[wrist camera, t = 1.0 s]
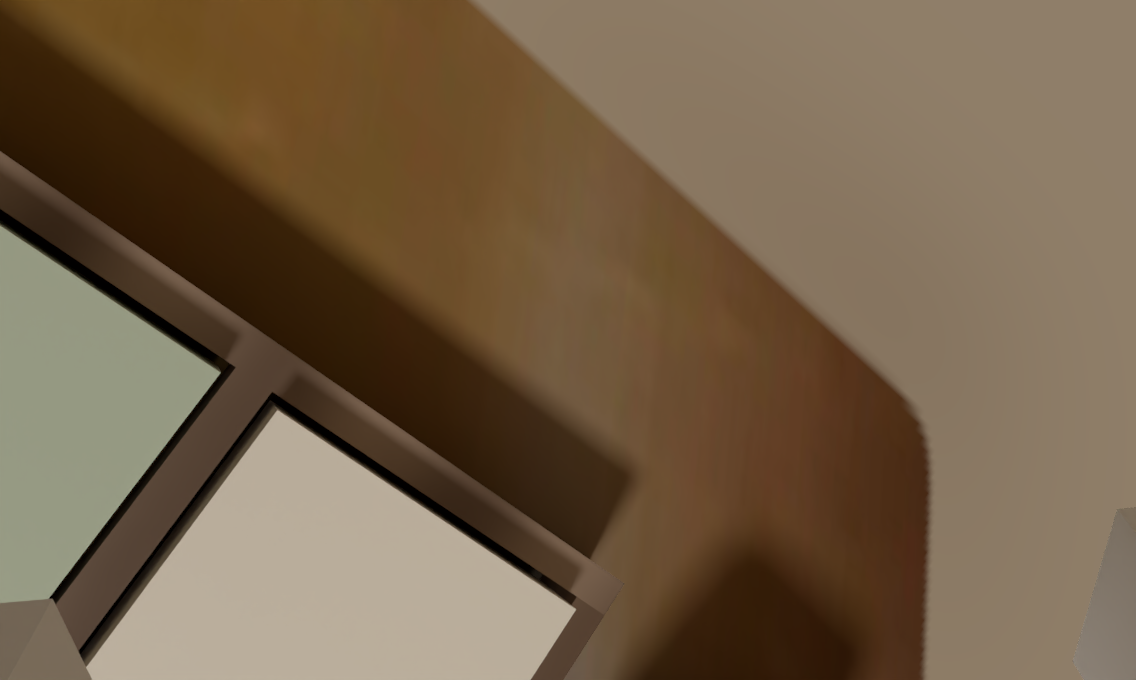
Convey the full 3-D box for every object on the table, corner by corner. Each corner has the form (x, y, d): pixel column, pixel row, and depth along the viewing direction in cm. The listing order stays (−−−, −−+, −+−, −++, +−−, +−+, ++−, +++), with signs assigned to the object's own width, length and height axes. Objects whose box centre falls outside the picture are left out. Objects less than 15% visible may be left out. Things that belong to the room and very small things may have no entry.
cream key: (30, 721, 27) (12, 766, 25) (270, 399, 29) (277, 409, 27) (350, 881, 31) (365, 935, 28) (545, 584, 33) (576, 609, 30)
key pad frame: (-544, 484, 24) (-643, 510, 21) (-148, 50, 26) (-189, 20, 23) (355, 921, 32) (370, 980, 29) (589, 560, 35) (624, 583, 32)
